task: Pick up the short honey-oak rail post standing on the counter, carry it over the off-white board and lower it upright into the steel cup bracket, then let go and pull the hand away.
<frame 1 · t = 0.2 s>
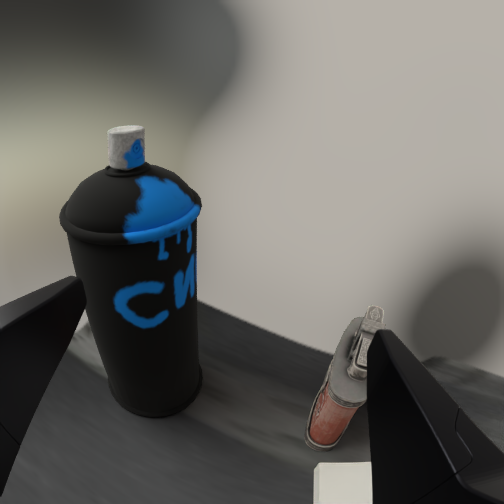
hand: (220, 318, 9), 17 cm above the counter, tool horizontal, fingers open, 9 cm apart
aerosol can: (155, 378, 25), on the counter
lighter: (330, 412, 24), on the counter
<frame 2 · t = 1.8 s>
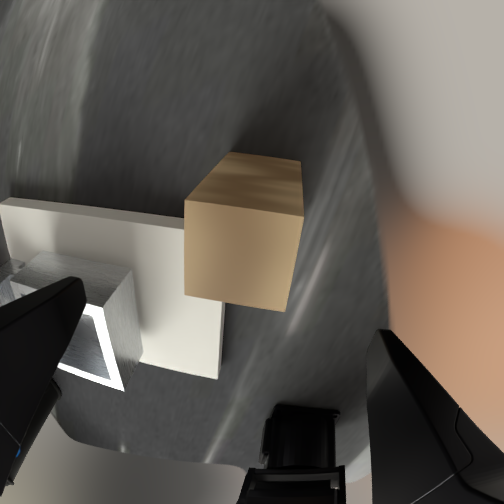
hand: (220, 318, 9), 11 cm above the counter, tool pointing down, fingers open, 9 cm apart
bracket board: (107, 284, 24), on the counter
cup bracket: (52, 307, 20), on the bracket board, point 4 cm above the counter
aerosol can: (38, 378, 35), on the counter
oak rail post: (260, 189, 19), on the counter
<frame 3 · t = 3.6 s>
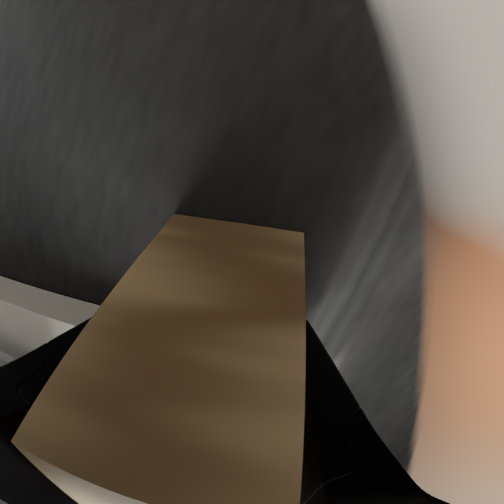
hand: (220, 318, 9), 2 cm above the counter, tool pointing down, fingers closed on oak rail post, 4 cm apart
bracket board: (46, 367, 16), on the counter
oak rail post: (232, 277, 11), on the counter, touching gripper
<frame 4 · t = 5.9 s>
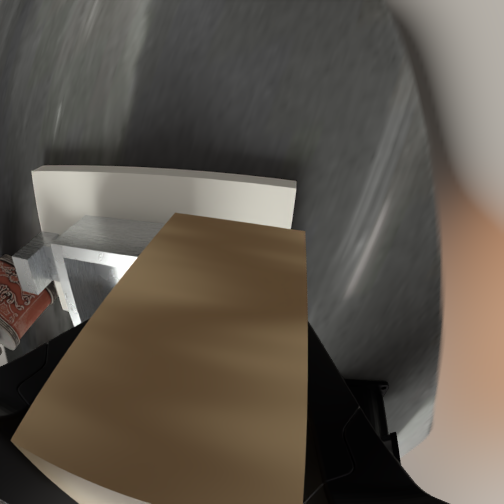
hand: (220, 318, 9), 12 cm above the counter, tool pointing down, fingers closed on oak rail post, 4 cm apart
bracket board: (153, 253, 23), on the counter
cup bracket: (95, 277, 20), on the bracket board, point 4 cm above the counter
oak rail post: (233, 276, 11), point 10 cm above the counter, touching gripper
lighter: (29, 276, 27), on the counter
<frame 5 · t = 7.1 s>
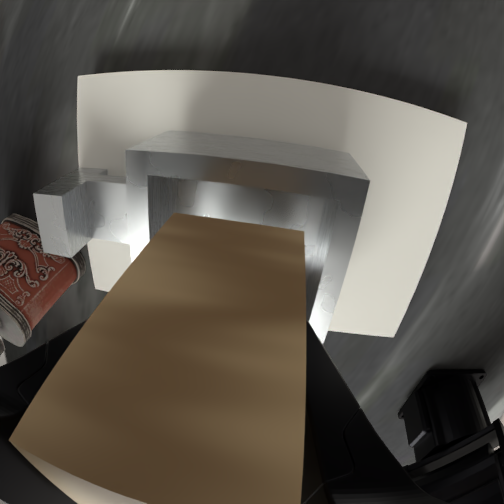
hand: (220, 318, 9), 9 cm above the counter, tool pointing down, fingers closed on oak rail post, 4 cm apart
bracket board: (254, 202, 17), on the counter
cup bracket: (177, 227, 13), on the bracket board, point 4 cm above the counter
oak rail post: (232, 276, 11), point 7 cm above the counter, touching gripper
lighter: (44, 243, 20), on the counter
when the fingers open (7 cm above the counter, at t = 8.1 s): oak rail post drops 2 cm, resting on cup bracket.
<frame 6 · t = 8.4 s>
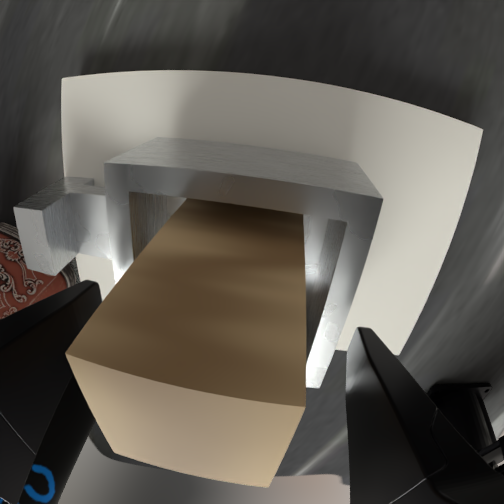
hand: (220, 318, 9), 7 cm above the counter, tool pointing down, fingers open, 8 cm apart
bracket board: (252, 214, 15), on the counter
cup bracket: (166, 244, 12), on the bracket board, point 4 cm above the counter
aerosol can: (71, 383, 26), on the counter
oak rail post: (241, 248, 12), point 3 cm above the counter, touching cup bracket
lighter: (34, 254, 19), on the counter
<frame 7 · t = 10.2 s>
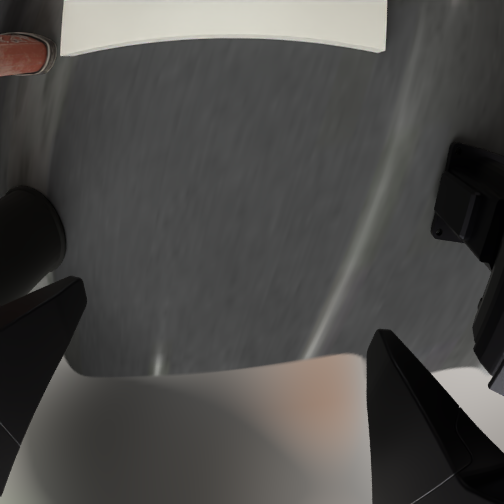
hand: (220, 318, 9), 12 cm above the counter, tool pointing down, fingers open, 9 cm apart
aerosol can: (33, 228, 23), on the counter
lighter: (23, 52, 16), on the counter
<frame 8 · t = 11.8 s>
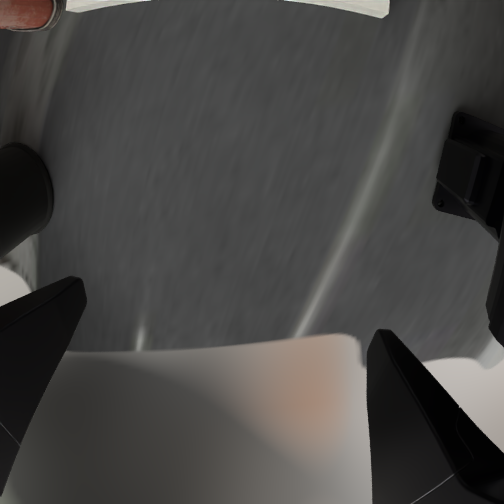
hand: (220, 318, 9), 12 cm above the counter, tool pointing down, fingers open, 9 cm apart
aerosol can: (22, 188, 22), on the counter
lighter: (29, 11, 14), on the counter
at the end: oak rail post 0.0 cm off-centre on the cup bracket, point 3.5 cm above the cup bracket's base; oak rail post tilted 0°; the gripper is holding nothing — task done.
